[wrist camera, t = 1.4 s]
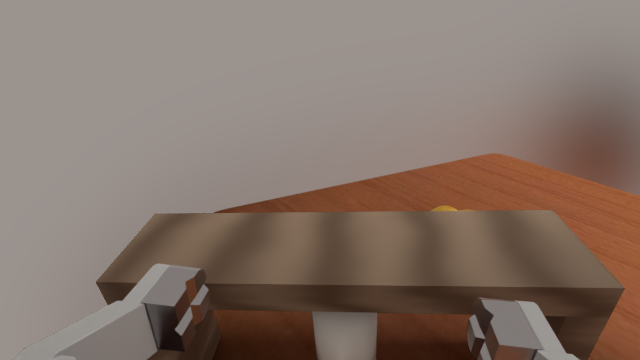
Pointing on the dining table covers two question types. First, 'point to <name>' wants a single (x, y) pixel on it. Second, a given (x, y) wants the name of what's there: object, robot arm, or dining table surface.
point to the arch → (376, 266)
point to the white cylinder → (345, 335)
